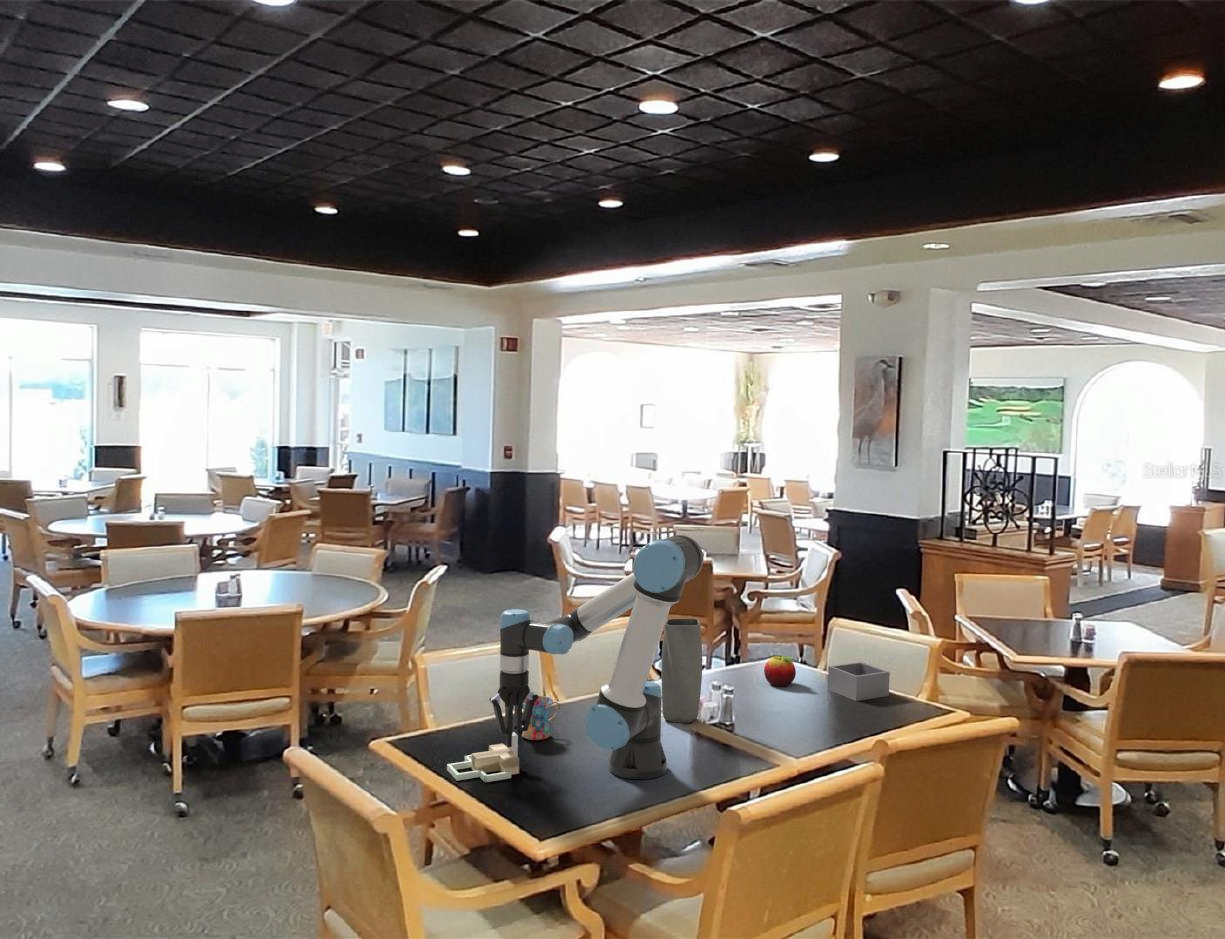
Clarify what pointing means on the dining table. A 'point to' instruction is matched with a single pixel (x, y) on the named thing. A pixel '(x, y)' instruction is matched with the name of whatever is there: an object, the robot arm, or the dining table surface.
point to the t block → (496, 760)
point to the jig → (473, 774)
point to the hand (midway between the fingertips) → (513, 758)
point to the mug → (540, 719)
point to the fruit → (780, 671)
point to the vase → (681, 669)
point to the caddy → (858, 681)
